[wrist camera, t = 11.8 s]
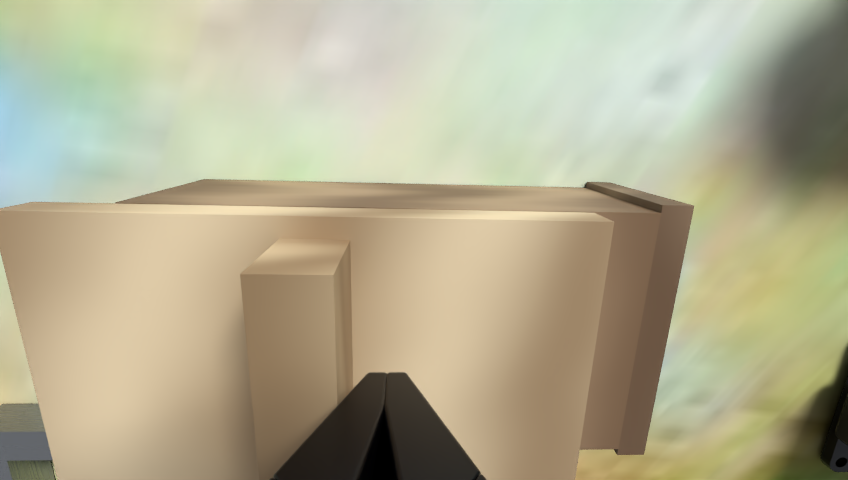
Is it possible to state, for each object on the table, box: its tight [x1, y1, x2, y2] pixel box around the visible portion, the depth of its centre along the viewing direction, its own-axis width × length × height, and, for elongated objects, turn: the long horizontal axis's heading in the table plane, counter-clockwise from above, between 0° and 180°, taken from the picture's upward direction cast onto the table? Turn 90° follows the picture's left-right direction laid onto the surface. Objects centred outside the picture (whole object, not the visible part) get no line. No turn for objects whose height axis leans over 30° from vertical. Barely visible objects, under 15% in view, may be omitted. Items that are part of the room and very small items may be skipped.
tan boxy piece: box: [115, 179, 694, 455], centre depth 13 cm, size 14×7×4 cm, turn 89°
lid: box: [0, 202, 614, 480], centre depth 9 cm, size 13×7×3 cm, turn 89°
